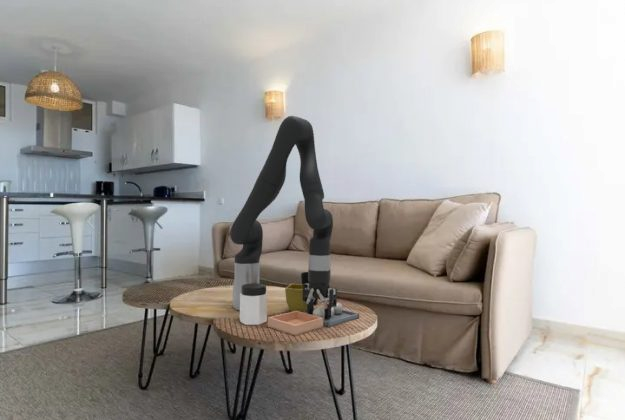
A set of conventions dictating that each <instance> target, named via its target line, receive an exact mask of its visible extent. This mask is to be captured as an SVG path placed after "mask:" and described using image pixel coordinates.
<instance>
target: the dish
mask: <svg viewBox="0 0 625 420" xmlns="http://www.w3.org/2000/svg"><path fill="white" fill-rule="evenodd" d="M267 327H268V328H270V329H273V330H276V331H279V332H281V333H285V334H287V335H290V336H294V337H296V336H299V335H303V334H307V333H310V332H312V331H316V330H319V328H320V329H323V328H324V326H323V318H321V317H318V316H314V315H310V314H307V313H303V312H299V311H293V312H292V311H289V312H286V313H281V314H277V315H273V316H272V315H271V316H267Z"/></svg>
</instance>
